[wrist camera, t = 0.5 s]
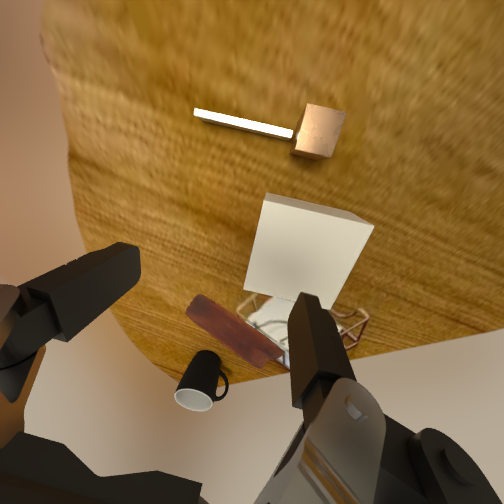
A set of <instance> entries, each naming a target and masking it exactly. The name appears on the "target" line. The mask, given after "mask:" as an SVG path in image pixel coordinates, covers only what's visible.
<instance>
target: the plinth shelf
mask: <svg viewBox="0 0 504 504" xmlns="http://www.w3.org/2000/svg"><path fill="white" fill-rule="evenodd" d="M374 227H375V226H374V225H372V224H370V223H369V222H367V221H365V220H363V219H362V218H360V217H358V216H356V215H355V214H353V213H351V212H349V211H345V210H341V209H336V208H332V207H328V206H323V205H319V204H315V203H311V202H306V201H302V200H298V199H294V198H289V197H285V196H281V195H276V194H272V193H268V192H266V195H265V198H264V202H263V206H262V210H261V215H260V219H259V223H258V228H257V232H256V236H255V241H254V245H253V249H252V253H251V258H250V262H249V266H248V271H247V275H246V279H245V284H244V288H243V289H244V290H249V291H253V292H257V293H261V294H265V295H269V296H274V297H278V298H282V299H286V300H290V301H295V302H296V300H297V298H298V296H299V294H300V292H305V293H308V294H312V295H316V296H318V298H319V301H320V304H321V307H322V308H324V309H328V310H330V309H331V307H332V305H333V303H334V301H335V300H336V298H337V296H338V294H339V292H340V290H341V288H342V287H343V285H344V283H345V281H346V279H347V277H348V275H349V273H350V272H351V270H352V268H353V266H354V264H355V262H356V260H357V259H358V257H359V255H360V253H361V251H362V249H363V247H364V246H365V244H366V242H367V240H368V238H369V236H370V234H371V232H372V231H373V229H374Z"/></svg>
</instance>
